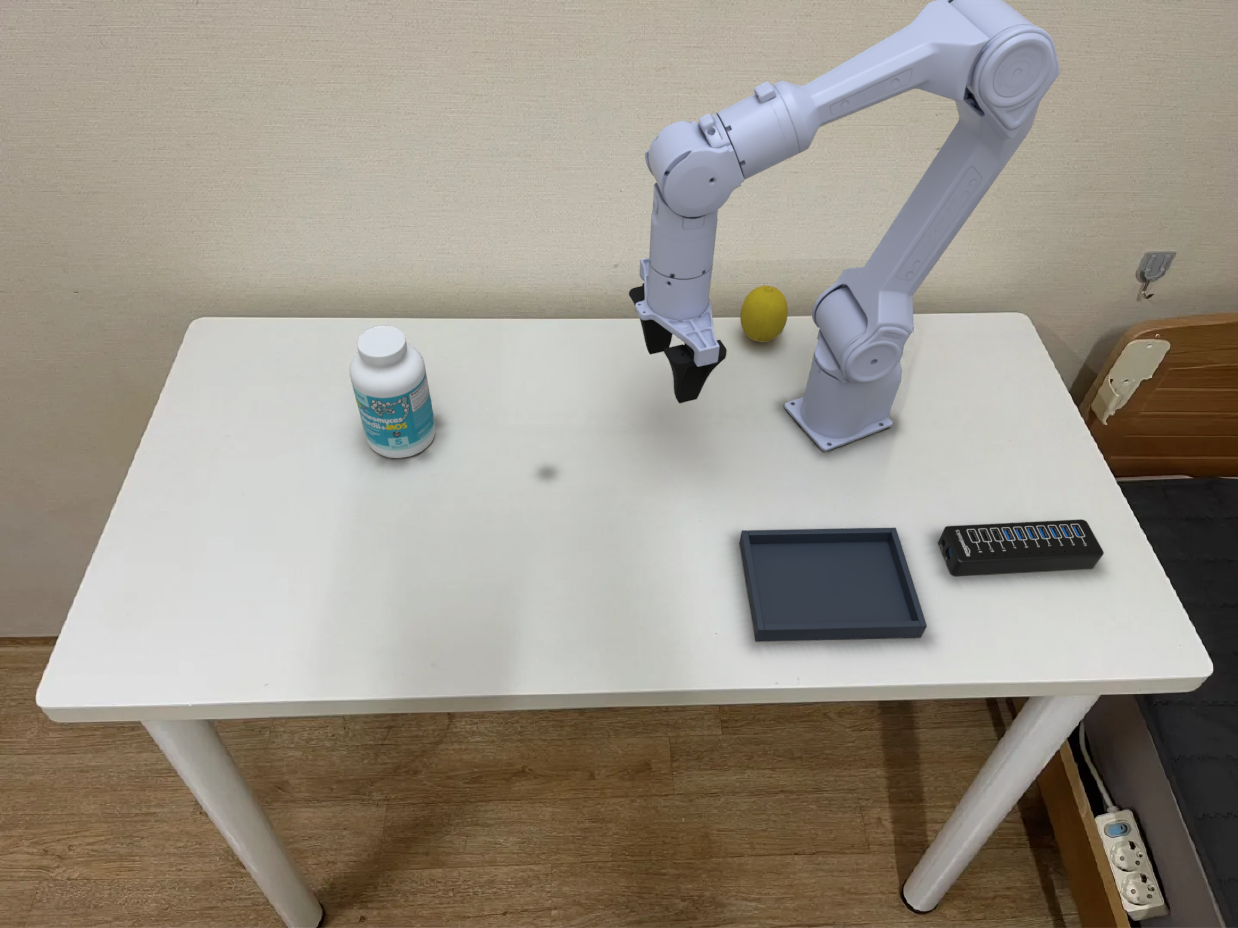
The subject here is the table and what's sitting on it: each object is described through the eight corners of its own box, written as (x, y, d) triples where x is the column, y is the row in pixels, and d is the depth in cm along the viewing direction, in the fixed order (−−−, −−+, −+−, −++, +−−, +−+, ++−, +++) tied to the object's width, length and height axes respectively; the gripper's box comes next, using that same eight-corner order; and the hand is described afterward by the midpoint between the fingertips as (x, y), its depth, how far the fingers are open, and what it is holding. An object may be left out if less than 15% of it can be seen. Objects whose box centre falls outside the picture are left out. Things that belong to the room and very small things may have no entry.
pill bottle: (353, 449, 95) (325, 352, 85) (390, 405, 100) (368, 308, 90) (414, 470, 93) (393, 373, 83) (449, 423, 98) (433, 327, 88)
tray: (890, 539, 88) (896, 527, 87) (921, 638, 81) (927, 626, 79) (739, 542, 88) (741, 530, 86) (755, 641, 80) (758, 630, 79)
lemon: (787, 334, 109) (798, 280, 103) (773, 360, 106) (784, 306, 100) (745, 321, 111) (753, 268, 105) (730, 347, 107) (738, 293, 102)
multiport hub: (1095, 568, 86) (1106, 554, 85) (951, 576, 85) (958, 562, 84) (1076, 533, 89) (1086, 518, 88) (936, 540, 88) (943, 525, 87)
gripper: (611, 225, 83) (610, 338, 93) (670, 318, 74) (662, 432, 84) (680, 212, 85) (672, 324, 95) (747, 301, 76) (729, 414, 86)
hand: (671, 374), depth 89 cm, fingers open, 7 cm apart
